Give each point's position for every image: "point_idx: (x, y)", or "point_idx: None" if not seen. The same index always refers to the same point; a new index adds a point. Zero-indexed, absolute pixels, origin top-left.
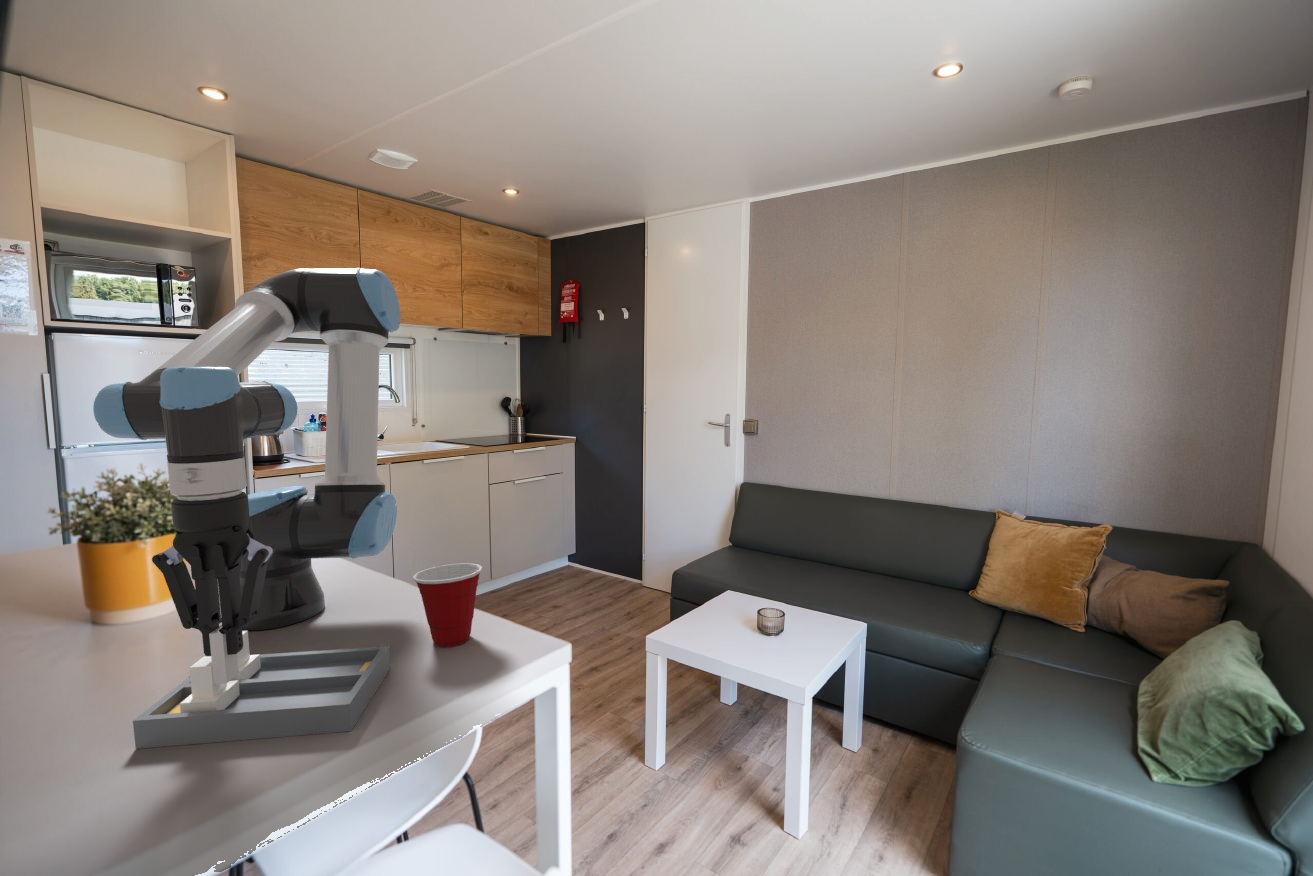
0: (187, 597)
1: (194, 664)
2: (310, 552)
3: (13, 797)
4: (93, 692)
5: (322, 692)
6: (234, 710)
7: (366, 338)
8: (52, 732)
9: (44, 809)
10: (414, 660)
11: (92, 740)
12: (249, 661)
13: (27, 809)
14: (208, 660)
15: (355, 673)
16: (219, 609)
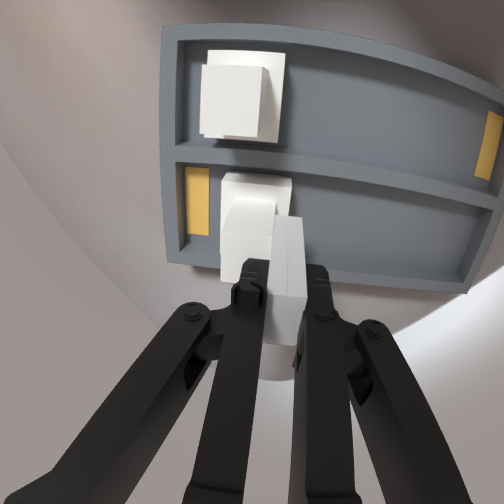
0: (169, 418)
1: (223, 269)
2: None
3: (122, 292)
4: (25, 73)
5: (432, 205)
6: None
7: None
8: (51, 173)
9: (168, 317)
10: None
11: (108, 202)
12: (276, 91)
13: (152, 313)
14: (245, 257)
15: (486, 201)
16: (261, 344)
